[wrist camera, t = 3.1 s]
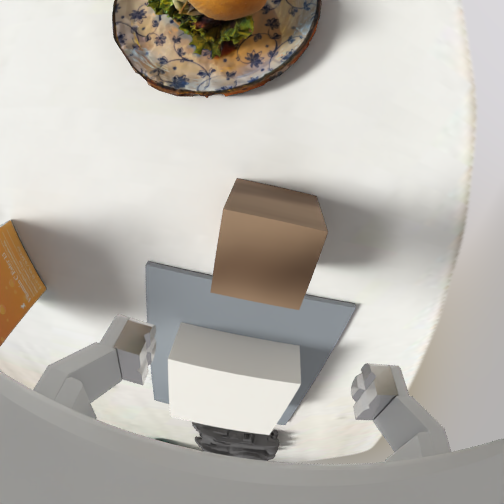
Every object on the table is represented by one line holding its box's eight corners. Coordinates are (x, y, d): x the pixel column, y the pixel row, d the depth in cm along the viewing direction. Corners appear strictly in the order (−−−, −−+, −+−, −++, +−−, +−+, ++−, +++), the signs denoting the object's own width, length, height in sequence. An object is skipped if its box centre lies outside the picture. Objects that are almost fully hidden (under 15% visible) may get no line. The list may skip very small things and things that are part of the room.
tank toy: (194, 438, 39) (188, 467, 34) (190, 412, 34) (182, 446, 29) (272, 448, 39) (271, 477, 34) (283, 423, 34) (282, 458, 29)
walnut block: (237, 177, 18) (223, 209, 14) (316, 195, 18) (327, 232, 14) (224, 247, 21) (210, 292, 16) (295, 262, 21) (298, 310, 16)
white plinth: (180, 322, 24) (167, 358, 20) (299, 345, 24) (301, 384, 21) (178, 385, 29) (169, 416, 26) (271, 403, 29) (269, 435, 26)
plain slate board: (148, 261, 22) (145, 264, 21) (354, 303, 22) (355, 307, 22) (155, 396, 32) (154, 400, 31) (285, 421, 32) (285, 425, 32)
